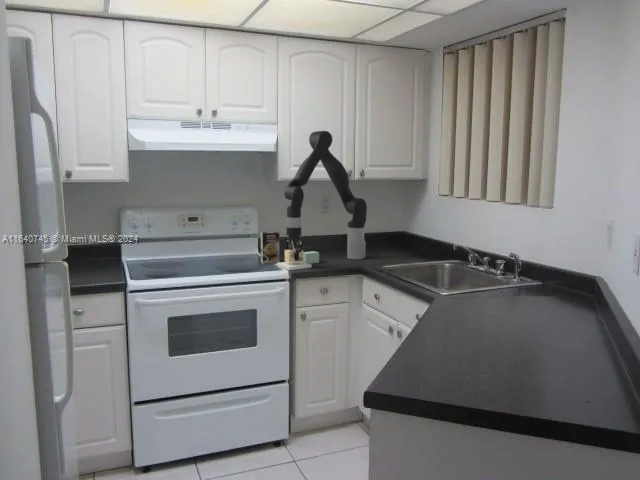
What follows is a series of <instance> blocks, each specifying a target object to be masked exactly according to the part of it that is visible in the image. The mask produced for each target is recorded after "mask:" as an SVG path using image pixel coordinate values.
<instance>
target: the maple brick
mask: <svg viewBox="0 0 640 480" xmlns="http://www.w3.org/2000/svg"><path fill="white" fill-rule="evenodd" d="M299 250H300V248H299ZM303 252H304V250H303V249H302V252H300V253H299V260H295V252H294V249H291V250H287V249H284V262H298V261H303Z"/></svg>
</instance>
